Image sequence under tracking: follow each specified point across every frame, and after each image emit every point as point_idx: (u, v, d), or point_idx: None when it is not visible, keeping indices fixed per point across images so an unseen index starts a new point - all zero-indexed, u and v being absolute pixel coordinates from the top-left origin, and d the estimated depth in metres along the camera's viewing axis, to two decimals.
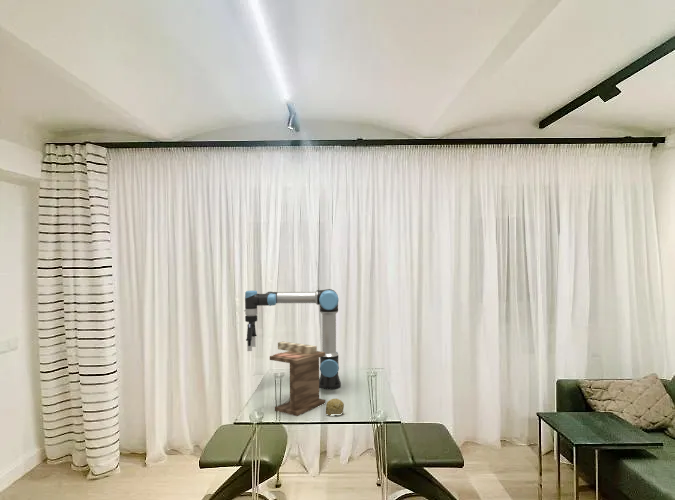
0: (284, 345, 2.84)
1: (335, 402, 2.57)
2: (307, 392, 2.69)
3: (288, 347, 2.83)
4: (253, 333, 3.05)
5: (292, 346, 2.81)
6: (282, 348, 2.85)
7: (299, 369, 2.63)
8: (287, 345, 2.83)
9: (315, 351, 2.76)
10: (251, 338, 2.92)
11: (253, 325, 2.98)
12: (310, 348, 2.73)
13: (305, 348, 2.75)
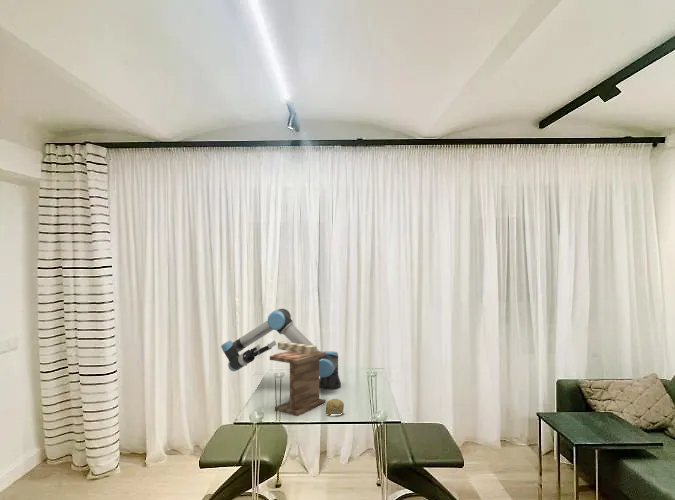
0: (284, 345, 2.84)
1: (335, 402, 2.57)
2: (307, 392, 2.69)
3: (288, 347, 2.83)
4: (265, 347, 3.04)
5: (292, 346, 2.81)
6: (282, 348, 2.85)
7: (299, 369, 2.63)
8: (287, 345, 2.83)
9: (315, 351, 2.76)
10: (251, 349, 2.93)
11: None
12: (310, 348, 2.73)
13: (305, 348, 2.75)
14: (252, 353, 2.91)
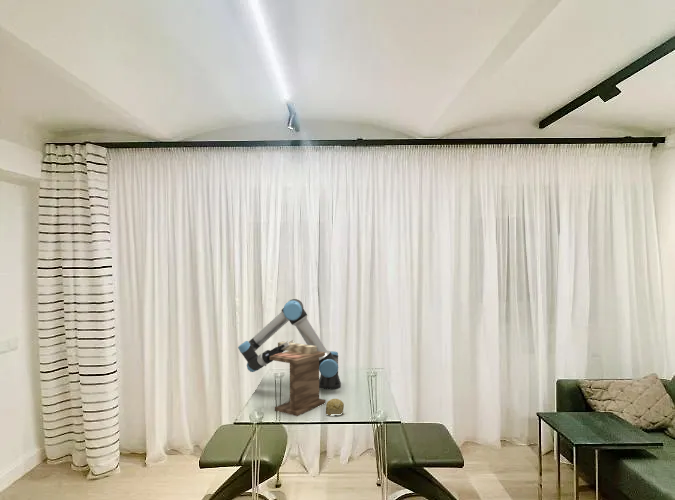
0: None
1: (335, 402, 2.57)
2: (307, 392, 2.69)
3: (288, 347, 2.83)
4: None
5: (292, 346, 2.81)
6: None
7: (299, 369, 2.63)
8: None
9: (315, 351, 2.76)
10: (278, 346, 2.86)
11: None
12: (310, 348, 2.73)
13: (305, 348, 2.75)
14: (280, 350, 2.84)
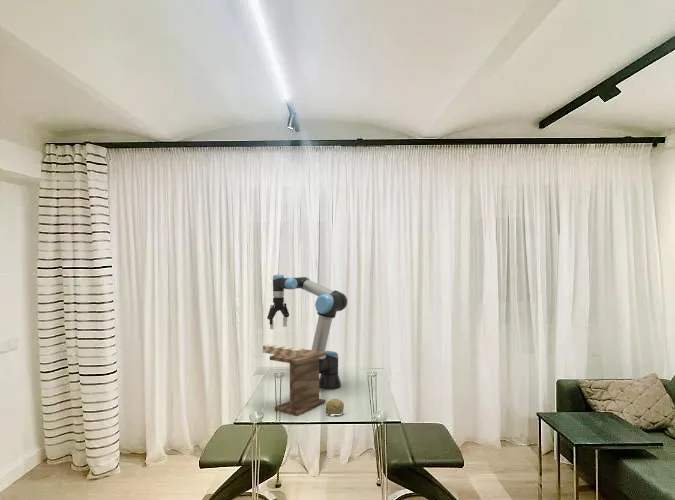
0: (269, 348, 2.74)
1: (335, 402, 2.57)
2: (307, 392, 2.69)
3: (273, 350, 2.72)
4: (284, 314, 3.31)
5: (277, 349, 2.70)
6: (267, 351, 2.75)
7: (299, 369, 2.63)
8: (272, 348, 2.72)
9: (301, 355, 2.65)
10: (272, 317, 3.20)
11: (278, 306, 3.25)
12: (296, 351, 2.63)
13: (291, 351, 2.65)
14: (268, 318, 3.21)
